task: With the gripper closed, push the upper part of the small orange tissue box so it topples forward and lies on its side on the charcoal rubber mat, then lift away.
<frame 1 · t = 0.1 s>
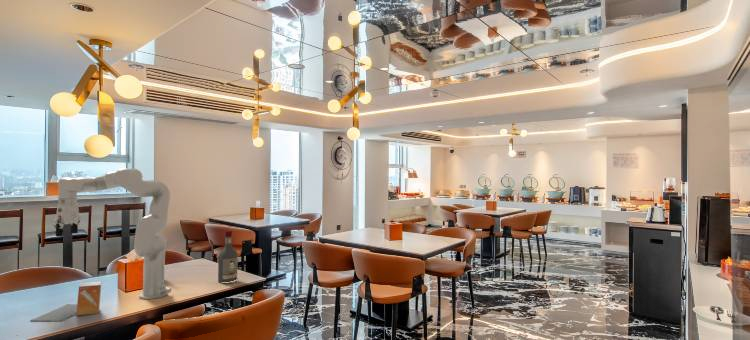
hand: (66, 234, 196), 31 cm above the table, tool pointing down, fingers open, 9 cm apart
mat: (64, 312, 172), on the table
small box: (88, 312, 172), on the table, touching mat
liquor: (227, 281, 224), on the table
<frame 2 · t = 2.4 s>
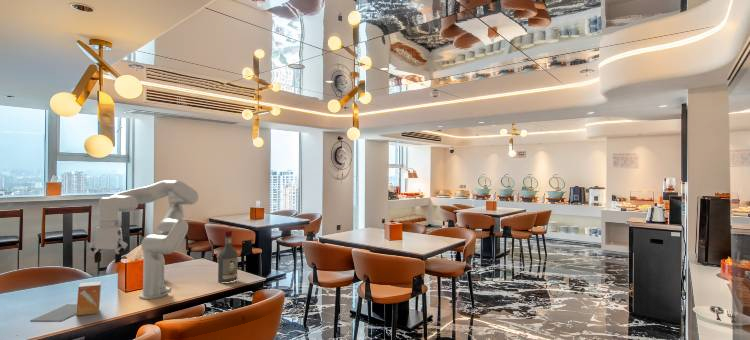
hand: (107, 262, 172), 23 cm above the table, tool pointing down, fingers open, 8 cm apart
nothing on the table moved.
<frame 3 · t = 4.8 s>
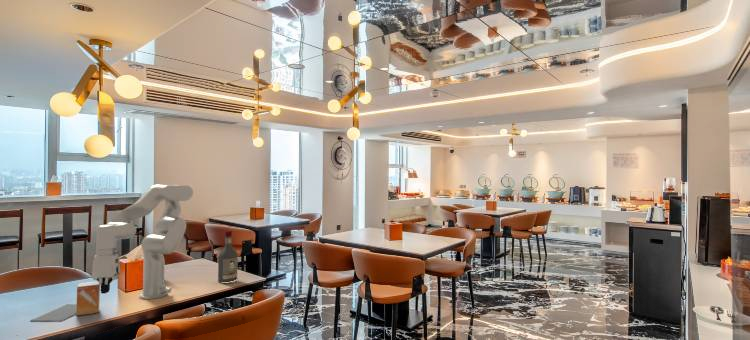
hand: (105, 292, 172), 9 cm above the table, tool pointing down, fingers closed
small box: (88, 312, 172), on the table, touching gripper, mat
everything else where it was.
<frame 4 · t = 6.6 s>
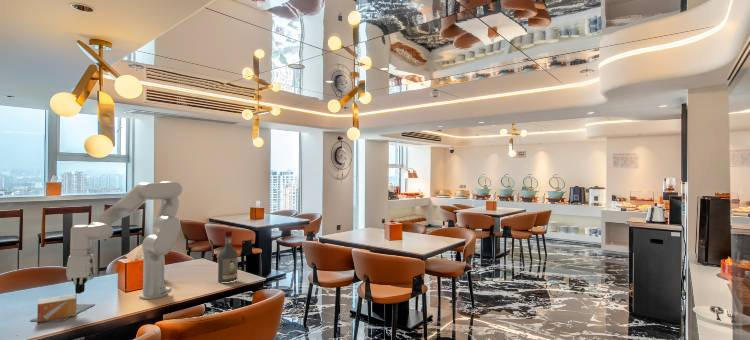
hand: (79, 292, 172), 9 cm above the table, tool pointing down, fingers closed
small box: (77, 304, 170), point 5 cm above the table, touching mat
everything else where it was.
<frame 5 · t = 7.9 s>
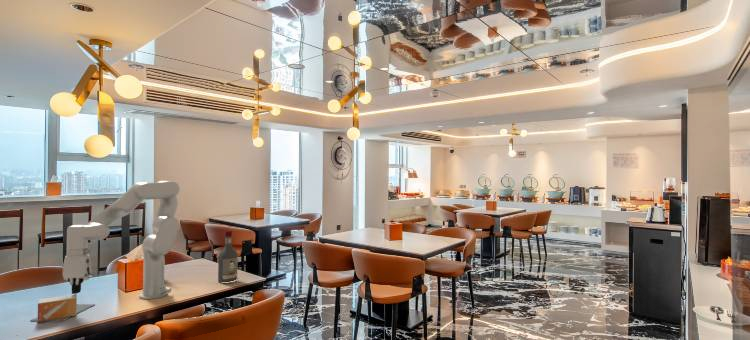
hand: (76, 292, 172), 9 cm above the table, tool pointing down, fingers closed
nothing on the table moved.
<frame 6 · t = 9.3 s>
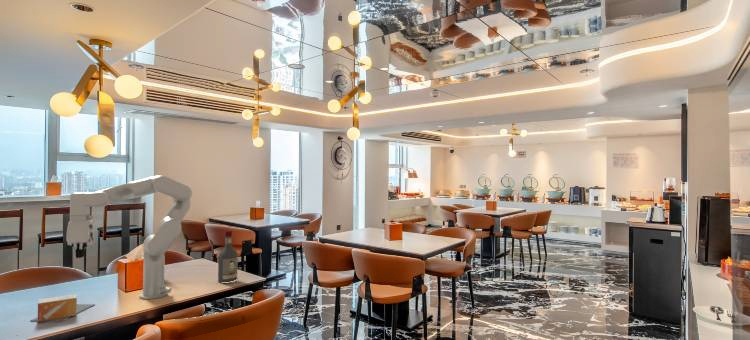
hand: (80, 257, 178), 24 cm above the table, tool pointing down, fingers closed
nothing on the table moved.
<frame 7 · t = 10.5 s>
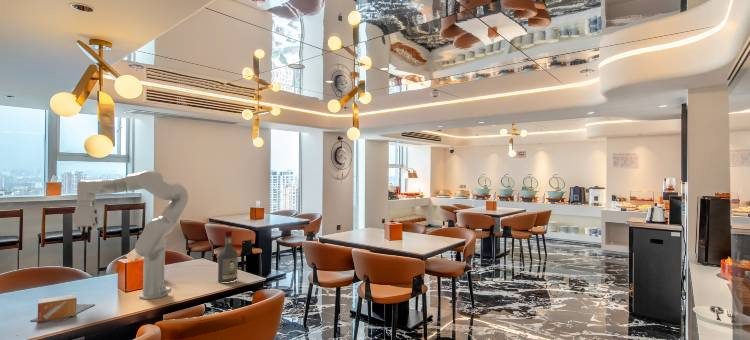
hand: (85, 239, 195), 29 cm above the table, tool pointing down, fingers closed
nothing on the table moved.
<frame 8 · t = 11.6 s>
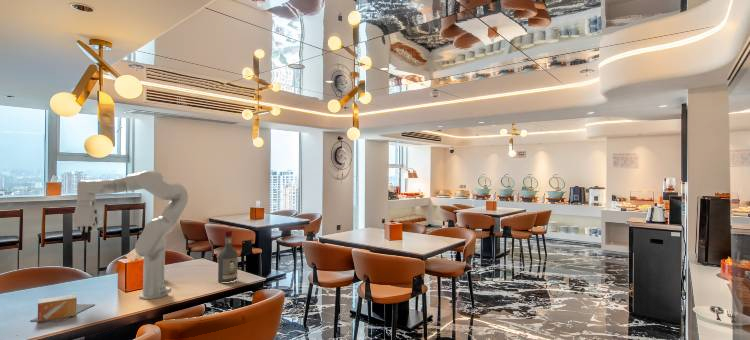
hand: (85, 239, 195), 29 cm above the table, tool pointing down, fingers closed
nothing on the table moved.
at the end: small box tilted 90°; small box inside the target area (2.7 cm from its centre), point 4.5 cm above the table; small box touching mat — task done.
